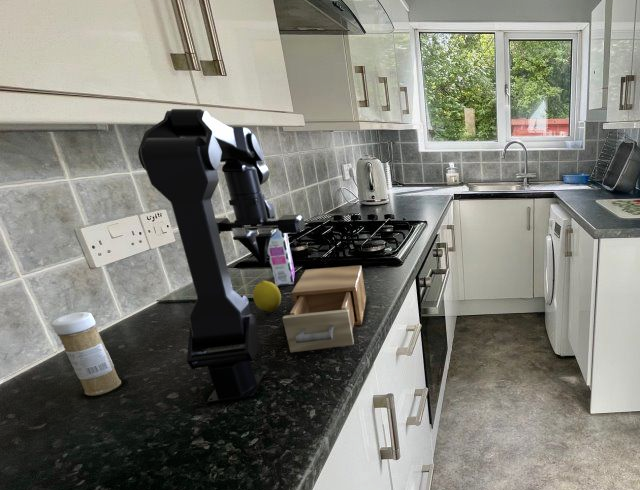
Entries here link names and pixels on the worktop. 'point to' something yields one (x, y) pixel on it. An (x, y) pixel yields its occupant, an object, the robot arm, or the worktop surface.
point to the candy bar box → (281, 259)
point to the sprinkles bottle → (87, 352)
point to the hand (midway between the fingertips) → (263, 263)
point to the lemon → (266, 296)
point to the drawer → (321, 321)
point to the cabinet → (334, 285)
